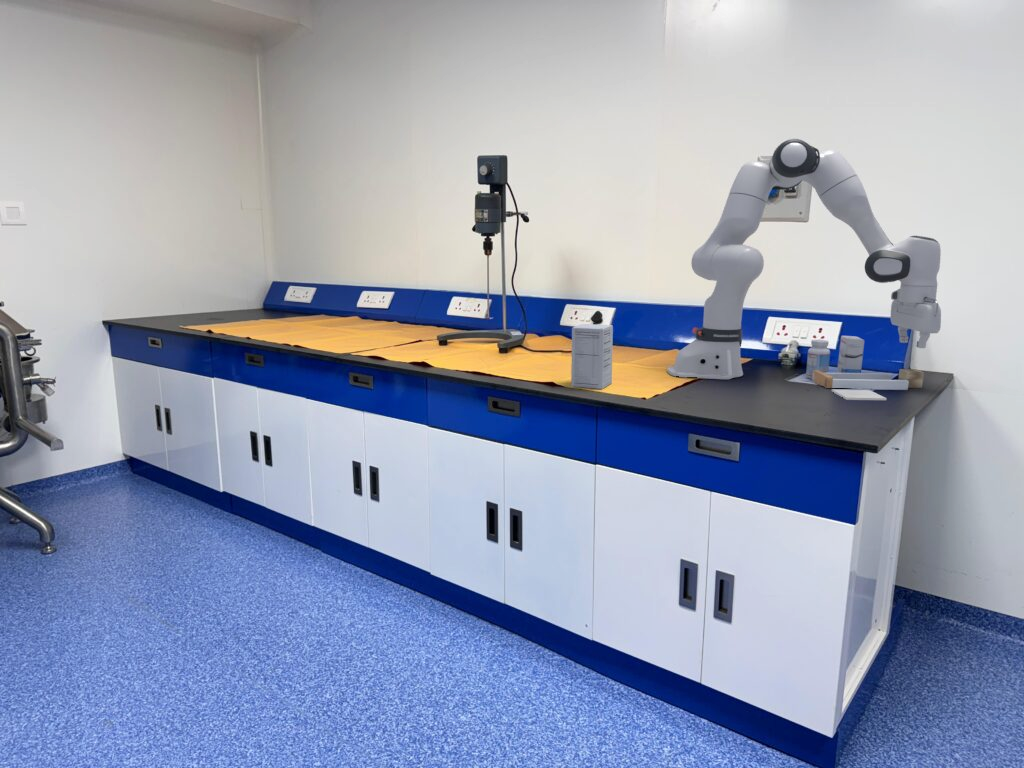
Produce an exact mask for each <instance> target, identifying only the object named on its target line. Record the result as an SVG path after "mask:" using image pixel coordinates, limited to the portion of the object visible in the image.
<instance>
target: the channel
mask: <svg viewBox="0 0 1024 768" xmlns="http://www.w3.org/2000/svg"><path fill="white" fill-rule="evenodd" d="M811 381H812V382H813V381H814V383H815V382H816V383H815V384H817V383H818V384H817V385H819V384H820V385H819V386H821V385H822V386H824V387H825V388H824V387H823V388H824V389H826V388H872V389H871V390H885V391H887V390H889V391H890V390H893V391H894V390H895V391H901V390H902V391H908V389H909V388H908V384H909V381H907V380H898V379H893V374H892V373H886V372H885V373H884V372H861V373H837V372H828V373H826V372H821V371H819V370H813V374H812V379H811ZM822 386H821V387H822Z"/></svg>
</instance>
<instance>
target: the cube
mask: <svg viewBox="0 0 1024 768" xmlns="http://www.w3.org/2000/svg"><path fill="white" fill-rule="evenodd" d="M898 371H899V372H898V378H897V380H907V381H909V384H908V389H909V388H918V389H919V388H920V389H921V388H922V389H923V383H924V373H925V372H924V371H921V370H918V369H915V368H900V369H899V370H898Z"/></svg>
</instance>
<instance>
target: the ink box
mask: <svg viewBox="0 0 1024 768" xmlns="http://www.w3.org/2000/svg"><path fill="white" fill-rule="evenodd" d="M864 348H865V339H862V338H861V337H859V336H856V335H855V336H854V335H853V336H852V335H841V336H840V344H839V354H838V360H837V370H836V373H862V366H863V357H864Z"/></svg>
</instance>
